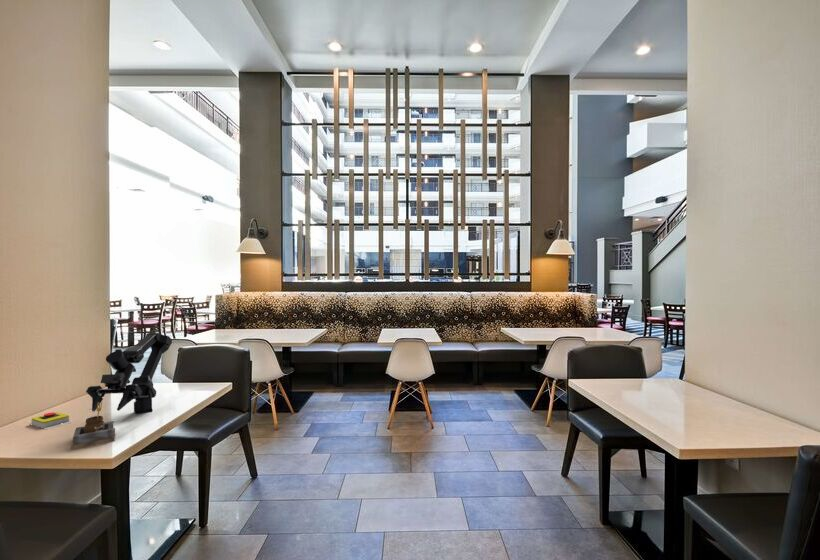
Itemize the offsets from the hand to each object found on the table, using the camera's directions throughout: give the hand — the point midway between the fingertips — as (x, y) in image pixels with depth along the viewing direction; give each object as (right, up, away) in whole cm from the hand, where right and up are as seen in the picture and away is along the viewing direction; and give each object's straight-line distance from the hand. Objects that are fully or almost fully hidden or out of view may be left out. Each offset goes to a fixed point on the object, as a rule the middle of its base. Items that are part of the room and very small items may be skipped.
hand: (105, 410), depth 156 cm
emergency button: (-33, -10, +12) cm, 36 cm away
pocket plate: (+1, -9, -7) cm, 11 cm away
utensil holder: (+1, -8, -6) cm, 10 cm away
